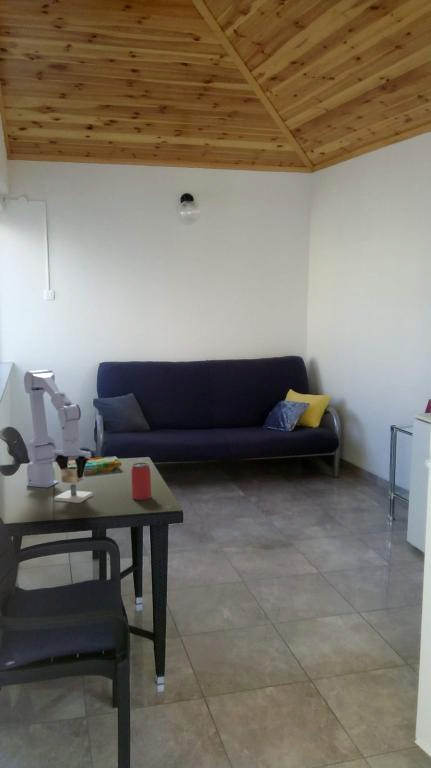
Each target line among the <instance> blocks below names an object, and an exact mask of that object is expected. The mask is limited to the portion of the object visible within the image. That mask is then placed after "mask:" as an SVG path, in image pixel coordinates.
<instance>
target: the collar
mask: <svg viewBox="0 0 431 768" xmlns="http://www.w3.org/2000/svg"><path fill="white" fill-rule="evenodd" d="M60 471H61V472H60V474H61V477H60V478H61V483H65V484H66V483H68V484H77V483H79V482H81V481H84V480H85V474H84V472H83V477H81V478H78V473H77V466H69V465H68V467H66V468H64V469H62V470H61V469H60Z"/></svg>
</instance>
